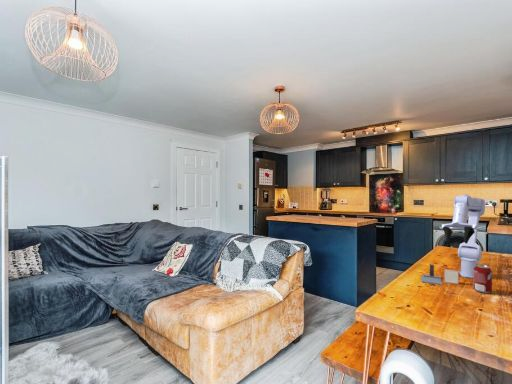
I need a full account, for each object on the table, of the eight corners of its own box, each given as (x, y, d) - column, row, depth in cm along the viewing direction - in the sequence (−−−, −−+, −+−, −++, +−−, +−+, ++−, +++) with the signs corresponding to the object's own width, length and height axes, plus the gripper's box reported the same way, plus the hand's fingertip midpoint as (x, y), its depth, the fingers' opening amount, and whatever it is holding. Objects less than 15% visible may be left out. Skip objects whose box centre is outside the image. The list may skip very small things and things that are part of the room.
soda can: (484, 294, 125) (485, 268, 124) (469, 289, 131) (470, 264, 131) (495, 293, 126) (495, 267, 126) (480, 288, 133) (480, 263, 133)
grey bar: (422, 275, 152) (423, 263, 152) (440, 278, 149) (440, 265, 149) (423, 277, 150) (423, 264, 150) (440, 279, 146) (440, 266, 146)
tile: (444, 281, 143) (444, 269, 143) (458, 283, 140) (458, 270, 140) (444, 282, 141) (444, 270, 141) (458, 284, 138) (458, 271, 138)
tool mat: (420, 277, 149) (420, 276, 149) (440, 279, 145) (440, 278, 145) (421, 282, 141) (421, 281, 141) (442, 285, 137) (442, 284, 137)
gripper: (440, 214, 142) (436, 238, 138) (473, 213, 129) (469, 239, 125) (447, 220, 145) (443, 243, 140) (480, 219, 132) (477, 245, 128)
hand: (456, 242), depth 133 cm, fingers open, 7 cm apart
